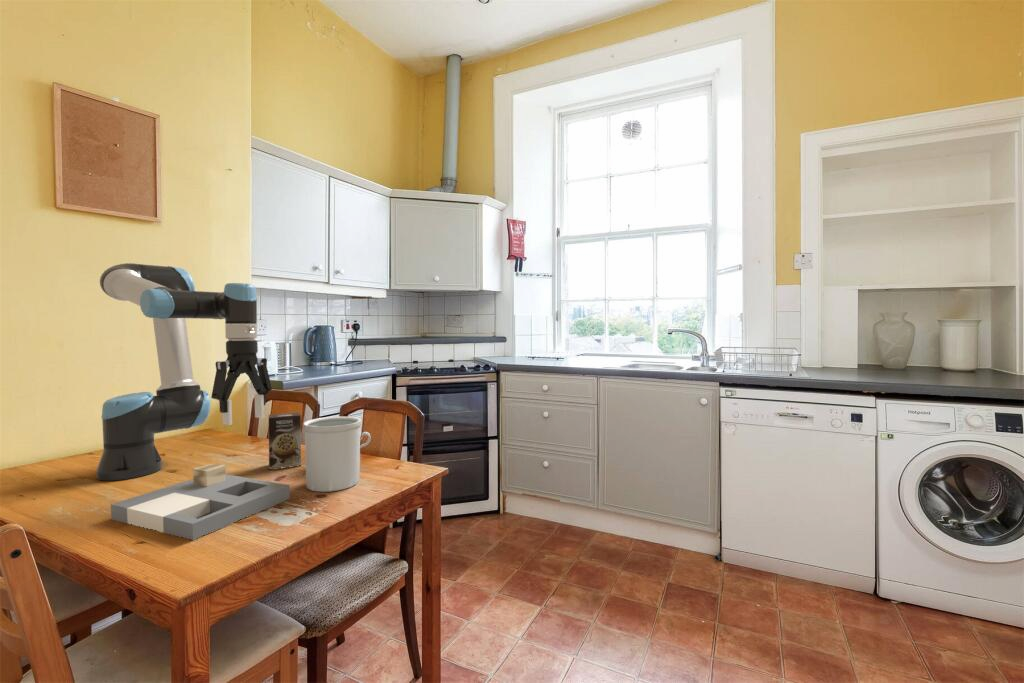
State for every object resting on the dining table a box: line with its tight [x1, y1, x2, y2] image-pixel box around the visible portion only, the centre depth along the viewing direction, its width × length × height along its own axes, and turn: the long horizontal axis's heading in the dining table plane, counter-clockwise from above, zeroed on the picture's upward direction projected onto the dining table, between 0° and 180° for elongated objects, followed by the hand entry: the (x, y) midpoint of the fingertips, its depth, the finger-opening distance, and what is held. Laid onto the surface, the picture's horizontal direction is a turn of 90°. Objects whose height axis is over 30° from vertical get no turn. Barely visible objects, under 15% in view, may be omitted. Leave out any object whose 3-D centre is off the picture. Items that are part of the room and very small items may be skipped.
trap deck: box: [110, 473, 291, 541], centre depth 109 cm, size 28×24×4 cm
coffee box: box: [268, 412, 302, 470], centre depth 143 cm, size 9×6×16 cm
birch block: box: [192, 463, 227, 487], centre depth 117 cm, size 5×5×4 cm
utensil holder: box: [302, 416, 362, 493], centre depth 126 cm, size 15×15×18 cm
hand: (244, 420), depth 126 cm, fingers open, 9 cm apart
